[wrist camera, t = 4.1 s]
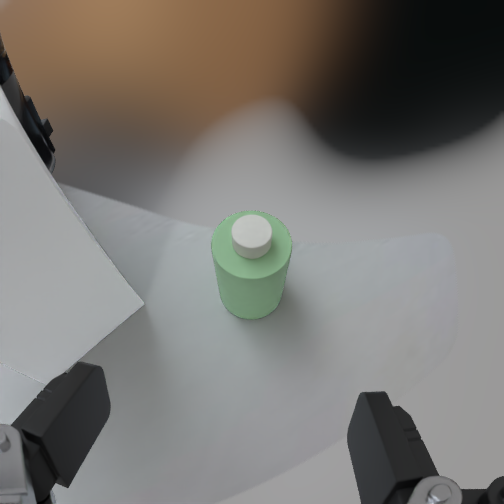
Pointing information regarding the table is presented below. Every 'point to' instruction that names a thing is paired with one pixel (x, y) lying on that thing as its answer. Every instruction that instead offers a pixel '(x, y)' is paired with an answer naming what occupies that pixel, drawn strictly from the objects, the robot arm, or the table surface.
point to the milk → (49, 267)
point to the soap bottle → (251, 262)
